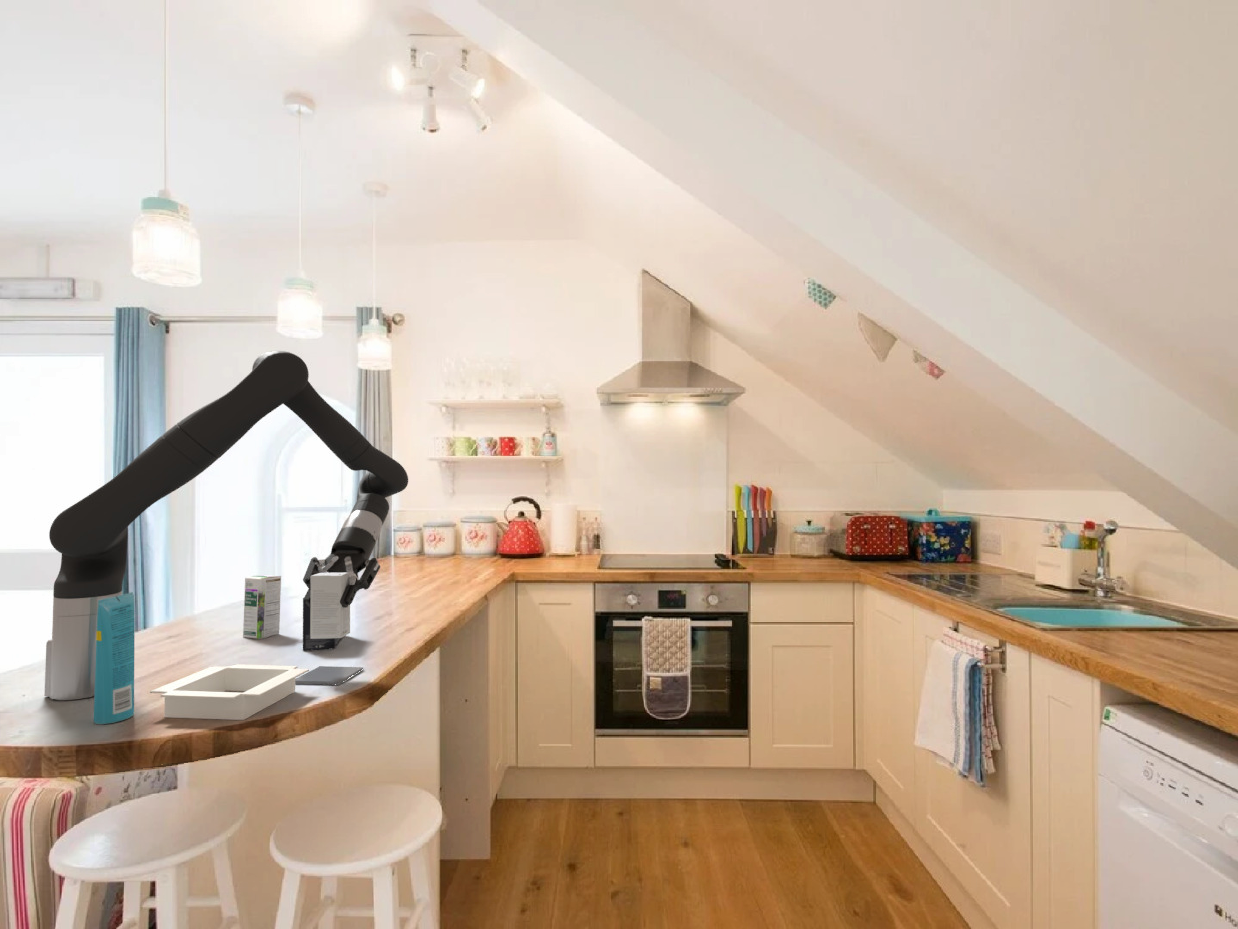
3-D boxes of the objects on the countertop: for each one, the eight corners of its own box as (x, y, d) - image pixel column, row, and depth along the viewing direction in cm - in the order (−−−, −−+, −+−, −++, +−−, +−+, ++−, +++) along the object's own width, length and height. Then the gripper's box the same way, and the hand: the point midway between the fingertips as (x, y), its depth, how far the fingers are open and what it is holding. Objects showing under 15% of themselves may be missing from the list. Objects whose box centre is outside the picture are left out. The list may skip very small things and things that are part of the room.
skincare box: (350, 633, 119) (351, 572, 119) (341, 639, 114) (342, 575, 115) (319, 633, 118) (320, 572, 119) (308, 639, 114) (309, 575, 114)
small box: (315, 637, 146) (316, 587, 147) (345, 635, 148) (346, 586, 149) (301, 651, 134) (302, 597, 134) (334, 649, 136) (335, 595, 136)
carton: (141, 720, 94) (142, 694, 94) (218, 686, 110) (218, 664, 111) (251, 724, 93) (252, 698, 93) (313, 689, 109) (313, 666, 109)
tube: (110, 711, 98) (114, 592, 99) (144, 709, 99) (148, 591, 100) (79, 729, 91) (84, 600, 91) (116, 727, 92) (120, 599, 92)
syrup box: (241, 637, 146) (243, 577, 146) (263, 632, 151) (264, 573, 152) (259, 639, 144) (261, 578, 144) (280, 634, 149) (282, 574, 150)
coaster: (292, 683, 112) (292, 680, 112) (319, 669, 121) (319, 666, 121) (338, 685, 111) (338, 682, 111) (363, 670, 120) (363, 667, 120)
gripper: (318, 525, 125) (281, 593, 113) (385, 525, 124) (355, 594, 112) (332, 548, 130) (298, 615, 118) (396, 548, 129) (369, 616, 117)
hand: (326, 604), depth 115 cm, fingers closed on skincare box, 6 cm apart
